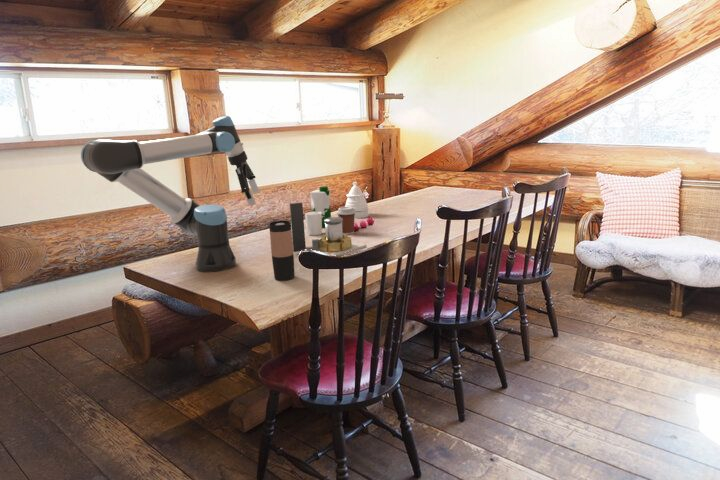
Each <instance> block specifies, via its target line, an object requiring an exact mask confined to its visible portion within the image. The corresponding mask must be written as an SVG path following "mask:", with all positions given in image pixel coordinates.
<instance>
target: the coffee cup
mask: <svg viewBox="0 0 720 480" xmlns="http://www.w3.org/2000/svg"><path fill="white" fill-rule="evenodd" d="M335 213H336V215H337V217H340V218H342V220H343V221H342V233H343V234H347V235H352V234H354V233H355V218H354V216H355V213H356V211H355V210H354V209H353V207H345V206H341V207H339V208H338V210H337V211H336V212H335Z"/></svg>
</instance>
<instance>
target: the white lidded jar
mask: <svg viewBox="0 0 720 480" xmlns="http://www.w3.org/2000/svg"><path fill="white" fill-rule="evenodd" d="M342 221H343V220H342V218H340V217H338V216H331V217H330V218H326V219H324V222H325V228H324V229H325V235H326V240H328V243H336V242H341V239H343V233H342Z"/></svg>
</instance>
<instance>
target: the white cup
mask: <svg viewBox="0 0 720 480" xmlns="http://www.w3.org/2000/svg"><path fill="white" fill-rule="evenodd" d="M304 217H305V218H304V219H305V225H306V231H307V235H308V236H319V235H321V234H323V233H322V232H323V231H322V230H323V228H322V213H321V212H312V211H309V212H306V213H304Z"/></svg>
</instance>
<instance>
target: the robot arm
mask: <svg viewBox="0 0 720 480" xmlns="http://www.w3.org/2000/svg"><path fill="white" fill-rule="evenodd" d="M212 125H213V126H211V127H210V128H208V129H205V130H203V131H201V132H198V133H196V134H194V135H193V134H192V135H185V136H179V137H178V136H177V137H171V138H169V137H168V138H164V139H163V138H162V139H155V140H153V139H152V140H148V141H147V140H146V141H137V140H136V139H131V140H114V139H103V138H93V139H91V140H89V141H87V142H86V143H85V144H84V146H83V147H82V148H81V152H80V159H81V162H82V164H83V165H84V167H86V169H88V170H89V171H90V172H93V173H97V174H98V175H100V176H101V177H102V178H104V179H106V180H107V181H108V182H110V183H116V182H118V183H119V184H121V185H122V186H124V187H126V188H127V189H128V190H130V191H131V192H133V193H134V194H136V195H138V197H141V198H142V199H143V200H145V201H147V202H148V203H150V204H151V205H152V206H154V207H155V208H157V209H158V210H161V212H164V213H165V214H166V215H167V216H168V217H170V221H171V222H172V223H173V224H174V225H175V226H177V227H178V228H179V229H180V230H181V231H182V232H184V233H186V234H187V235H192V236H195V237H196V239H197V244H198V251H197V255H196V260H195V268H196V270H197V271H200V272H219V271H223V270H224V271H225V270H228V269H231V268H234V267H235V266H236V265H237V260H236V256H235V254H234V252H233V250H232V247H231V246H230V238H229V228H228V217H227V213H226V209H225V208H224V207H223V206H222V205H217V204H202V205H200V204H199V203H197V202H196V201H194V200H193V199H192V198H190V197H182V196H181V195H179V194H178V193H177V192H175V191H173V189H171V188H169V187H168V186H166V185H165V184H163V183H162V182H161V181H160V180H158V179H157V178H155V177H154V176H152V175H151V174H150V173H148V172H146V171H145V170H144V169H142V168H143V166H144V165H146V164H148V165H149V164H154V163H161V162H166V161H172V160H178V159H184V158H191V157H197V156H202V155H203V156H204V155H207V154H208V155H209V154H216V153H225V155H226V156H227V159H228V162H229V165H231V166H236V169H235V173H236V175H237V176H236V177H237V179H238V183H239V185H240V189H241V194H244V195H245V198H246V201H247V202H248V205H249V206H250V207H251V206H254V205H257V202H256V200H255V197H254V195H257V194H259V193H260V190H259V187H258V185H257V182H256V175H255V174H254V172H253V170H252V168H251V167H250V165H249V164H248V162H247V160H248V155H247V154H246V151H245V149H244V146H243V145H244V142H241V139H240V136H239V134H238V131H237V129H236V125H235V124H234V122H233V119H232V118H231V116H230V115H224V116H219V117H218V118H215V119H214V120H213V121H212Z"/></svg>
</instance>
